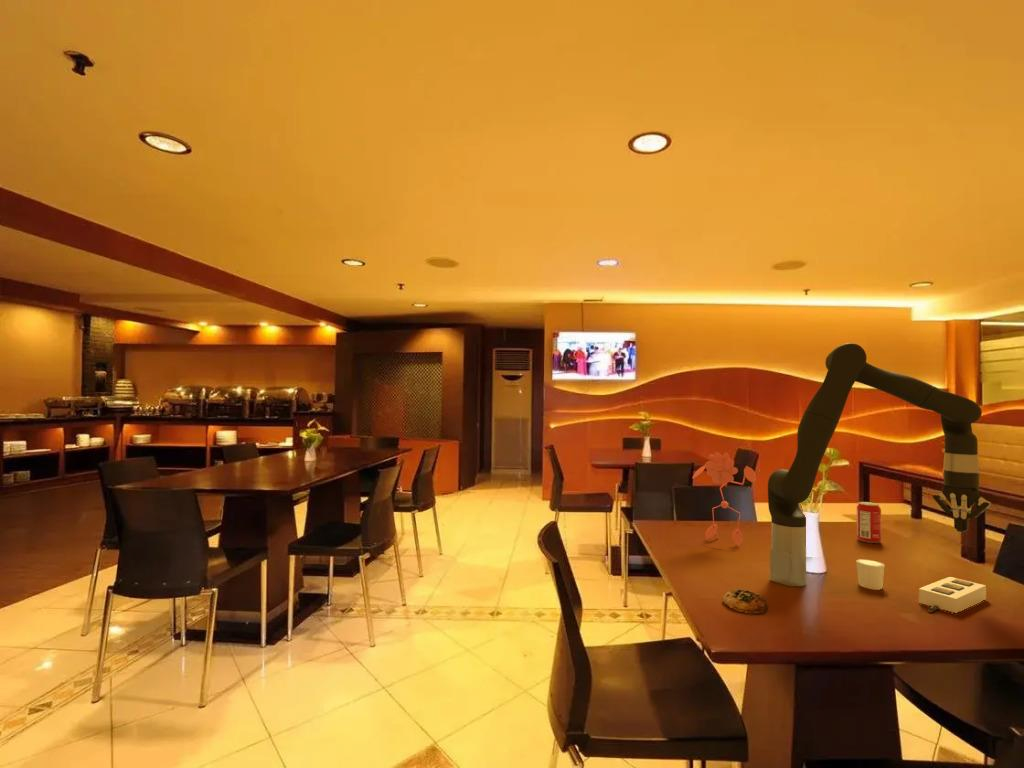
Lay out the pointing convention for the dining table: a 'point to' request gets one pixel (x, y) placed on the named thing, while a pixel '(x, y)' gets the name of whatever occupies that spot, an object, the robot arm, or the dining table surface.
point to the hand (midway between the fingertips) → (961, 531)
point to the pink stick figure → (723, 471)
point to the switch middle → (953, 586)
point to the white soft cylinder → (870, 573)
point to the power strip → (952, 596)
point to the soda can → (869, 522)
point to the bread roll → (745, 601)
